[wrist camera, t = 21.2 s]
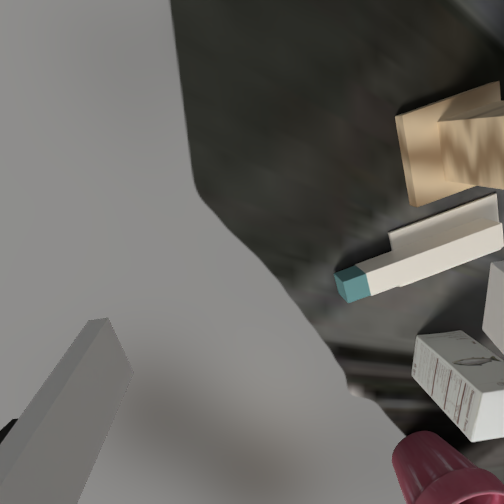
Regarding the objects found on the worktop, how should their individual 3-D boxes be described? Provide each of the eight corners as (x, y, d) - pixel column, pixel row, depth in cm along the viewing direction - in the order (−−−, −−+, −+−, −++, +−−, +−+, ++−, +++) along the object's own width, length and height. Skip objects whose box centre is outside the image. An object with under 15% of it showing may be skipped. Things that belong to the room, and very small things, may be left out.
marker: (333, 272, 45) (343, 281, 42) (481, 217, 45) (502, 223, 42) (338, 293, 46) (348, 304, 43) (483, 239, 46) (503, 246, 43)
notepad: (388, 232, 44) (389, 233, 44) (494, 193, 45) (496, 193, 45) (398, 285, 47) (400, 287, 47) (498, 248, 48) (501, 249, 47)
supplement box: (461, 328, 51) (542, 384, 39) (453, 370, 53) (527, 436, 41) (415, 333, 50) (483, 392, 38) (409, 376, 52) (471, 445, 40)
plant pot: (379, 424, 54) (431, 504, 42) (460, 410, 56) (533, 484, 44) (374, 491, 59) (420, 582, 46) (449, 476, 60) (513, 560, 48)
